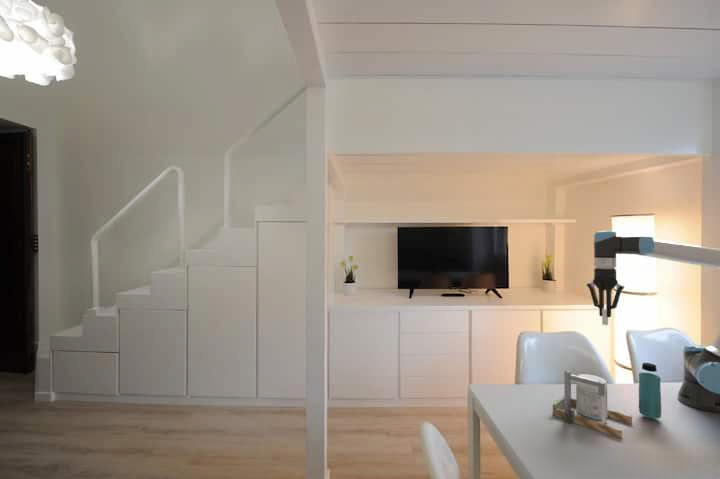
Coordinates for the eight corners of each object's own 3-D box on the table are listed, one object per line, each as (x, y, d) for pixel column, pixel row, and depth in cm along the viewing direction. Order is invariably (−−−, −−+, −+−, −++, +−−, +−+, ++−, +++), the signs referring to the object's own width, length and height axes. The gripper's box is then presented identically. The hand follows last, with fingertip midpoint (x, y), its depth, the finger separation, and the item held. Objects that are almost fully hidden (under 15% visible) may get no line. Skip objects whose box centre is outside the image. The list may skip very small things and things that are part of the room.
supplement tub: (587, 410, 135) (587, 372, 135) (613, 422, 126) (613, 381, 126) (570, 415, 131) (570, 375, 131) (595, 427, 122) (595, 385, 122)
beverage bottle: (665, 424, 125) (665, 367, 125) (644, 422, 126) (644, 366, 126) (654, 415, 131) (654, 361, 131) (634, 413, 133) (634, 360, 133)
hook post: (604, 433, 118) (604, 380, 119) (603, 435, 117) (603, 381, 117) (565, 420, 127) (565, 370, 128) (563, 421, 126) (563, 371, 126)
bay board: (632, 423, 125) (632, 411, 125) (621, 438, 115) (621, 426, 115) (567, 402, 141) (567, 392, 141) (552, 414, 131) (552, 404, 131)
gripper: (584, 267, 149) (584, 323, 149) (622, 269, 139) (622, 328, 139) (589, 266, 154) (589, 320, 154) (626, 268, 144) (626, 325, 144)
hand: (605, 324), depth 146 cm, fingers closed
